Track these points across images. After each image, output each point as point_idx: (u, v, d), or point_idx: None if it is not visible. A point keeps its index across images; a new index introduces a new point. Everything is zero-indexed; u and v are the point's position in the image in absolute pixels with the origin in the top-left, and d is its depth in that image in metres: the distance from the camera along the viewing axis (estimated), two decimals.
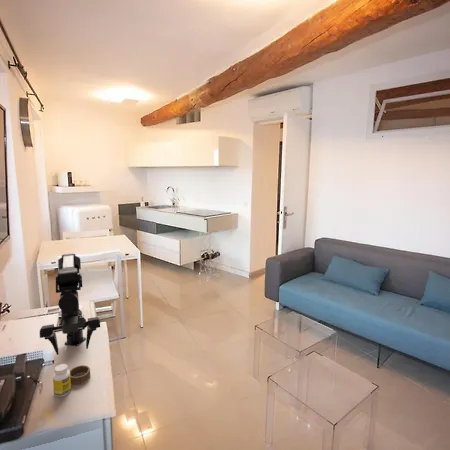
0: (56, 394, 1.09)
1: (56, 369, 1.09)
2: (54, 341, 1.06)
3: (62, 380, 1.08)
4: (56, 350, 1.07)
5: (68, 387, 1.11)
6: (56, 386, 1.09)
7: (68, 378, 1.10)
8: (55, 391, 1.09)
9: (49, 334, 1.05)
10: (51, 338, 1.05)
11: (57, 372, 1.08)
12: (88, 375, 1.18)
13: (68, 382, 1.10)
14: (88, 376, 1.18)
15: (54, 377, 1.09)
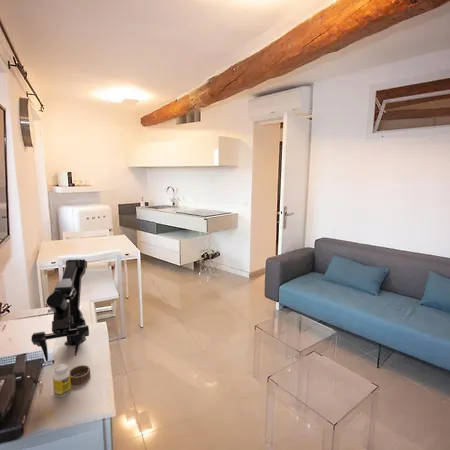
0: (56, 394, 1.09)
1: (56, 369, 1.09)
2: (44, 346, 1.13)
3: (62, 380, 1.08)
4: (45, 355, 1.12)
5: (68, 387, 1.11)
6: (56, 386, 1.09)
7: (68, 378, 1.10)
8: (55, 391, 1.09)
9: (40, 337, 1.13)
10: (42, 341, 1.12)
11: (57, 372, 1.08)
12: (88, 375, 1.18)
13: (68, 382, 1.10)
14: (88, 376, 1.18)
15: (54, 377, 1.09)
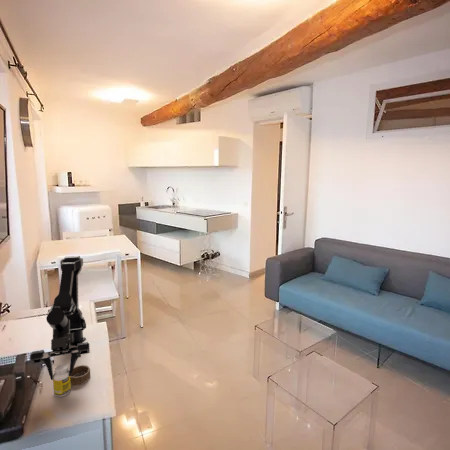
0: (56, 394, 1.09)
1: (56, 369, 1.09)
2: (49, 364, 1.09)
3: (62, 380, 1.08)
4: (50, 374, 1.08)
5: (68, 387, 1.11)
6: (56, 386, 1.09)
7: (68, 378, 1.10)
8: (55, 391, 1.09)
9: (39, 356, 1.09)
10: (46, 359, 1.09)
11: (57, 372, 1.08)
12: (88, 375, 1.18)
13: (68, 382, 1.10)
14: (88, 376, 1.18)
15: (54, 377, 1.09)
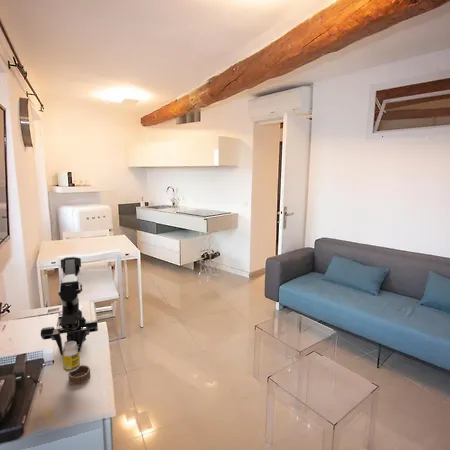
0: (65, 369, 1.13)
1: (66, 345, 1.12)
2: (59, 340, 1.13)
3: (71, 356, 1.12)
4: (60, 349, 1.12)
5: (77, 363, 1.14)
6: (65, 361, 1.12)
7: (77, 354, 1.14)
8: (64, 366, 1.13)
9: (49, 332, 1.12)
10: (56, 335, 1.12)
11: (67, 348, 1.12)
12: (88, 375, 1.18)
13: (77, 358, 1.14)
14: (88, 376, 1.18)
15: (64, 353, 1.12)
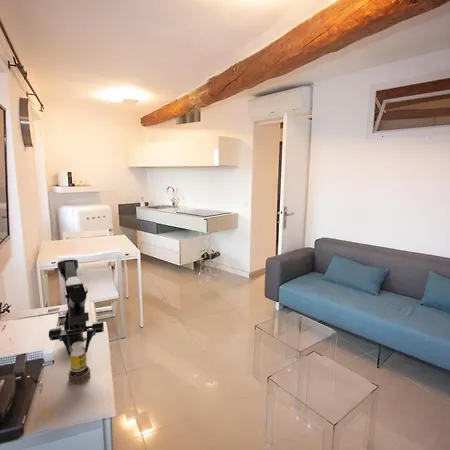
0: (73, 369, 1.16)
1: (73, 345, 1.15)
2: (66, 340, 1.16)
3: (78, 356, 1.15)
4: (68, 350, 1.15)
5: (84, 363, 1.17)
6: (73, 362, 1.15)
7: (84, 354, 1.17)
8: (72, 366, 1.16)
9: (57, 333, 1.15)
10: (64, 336, 1.15)
11: (74, 348, 1.15)
12: (88, 375, 1.18)
13: (84, 358, 1.17)
14: (88, 376, 1.18)
15: (71, 353, 1.15)
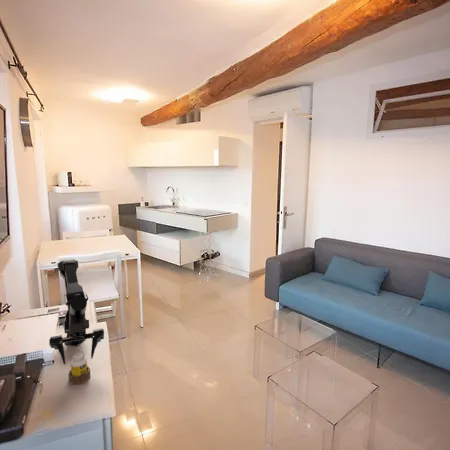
0: None
1: (74, 356, 1.16)
2: (62, 349, 1.16)
3: (79, 367, 1.16)
4: (63, 358, 1.15)
5: (85, 373, 1.18)
6: (74, 372, 1.16)
7: (85, 365, 1.18)
8: None
9: (58, 340, 1.15)
10: (59, 345, 1.15)
11: (75, 359, 1.16)
12: (88, 375, 1.18)
13: (85, 368, 1.18)
14: (88, 376, 1.18)
15: (72, 364, 1.16)
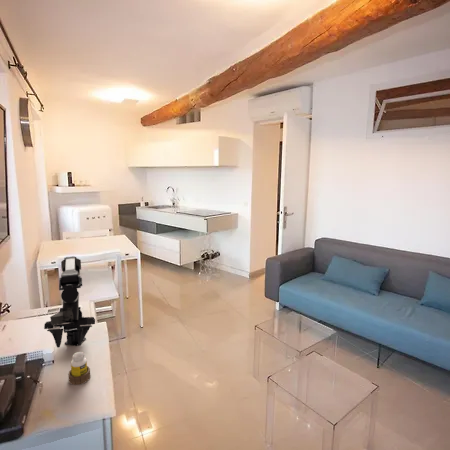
0: None
1: (74, 356, 1.16)
2: (54, 334, 1.22)
3: (79, 366, 1.16)
4: (56, 343, 1.21)
5: (85, 373, 1.18)
6: (74, 372, 1.16)
7: (85, 365, 1.18)
8: None
9: (49, 326, 1.21)
10: (51, 330, 1.21)
11: (75, 359, 1.16)
12: (88, 375, 1.18)
13: (85, 368, 1.18)
14: (88, 376, 1.18)
15: (72, 364, 1.16)
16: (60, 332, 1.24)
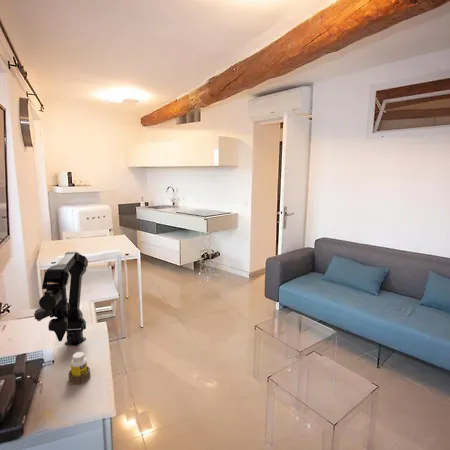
0: None
1: (74, 356, 1.16)
2: None
3: (79, 366, 1.16)
4: None
5: (85, 373, 1.18)
6: (74, 372, 1.16)
7: (85, 365, 1.18)
8: None
9: None
10: None
11: (75, 359, 1.16)
12: (88, 375, 1.18)
13: (85, 368, 1.18)
14: (88, 376, 1.18)
15: (72, 364, 1.16)
16: (64, 316, 1.30)
